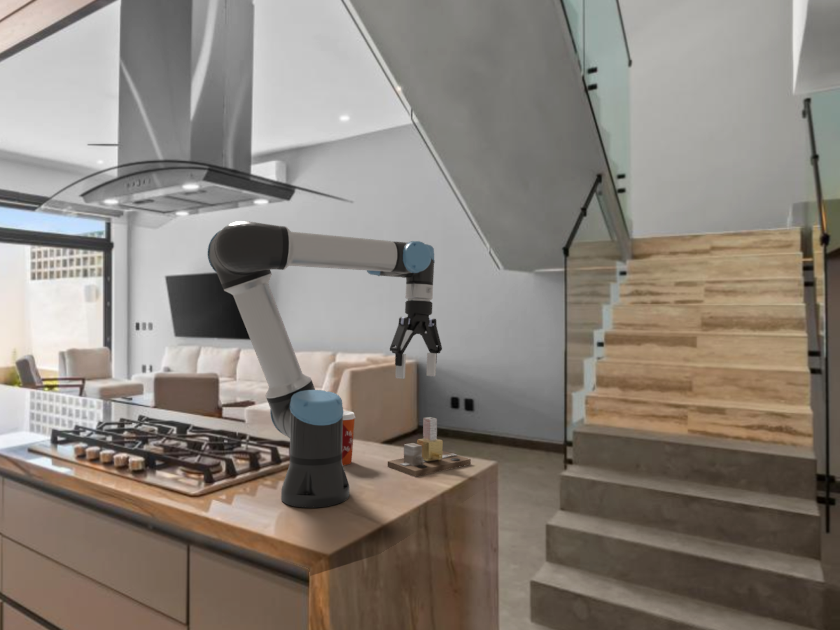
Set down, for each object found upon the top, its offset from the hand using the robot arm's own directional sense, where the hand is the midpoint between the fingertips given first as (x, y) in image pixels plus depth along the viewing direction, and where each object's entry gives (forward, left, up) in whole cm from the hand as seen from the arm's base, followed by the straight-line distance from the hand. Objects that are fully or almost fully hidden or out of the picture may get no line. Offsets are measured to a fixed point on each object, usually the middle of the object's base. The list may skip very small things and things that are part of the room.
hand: (416, 377), depth 152 cm
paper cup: (-15, +15, -25) cm, 32 cm away
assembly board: (+3, -2, -25) cm, 25 cm away
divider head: (+4, -3, -23) cm, 23 cm away
